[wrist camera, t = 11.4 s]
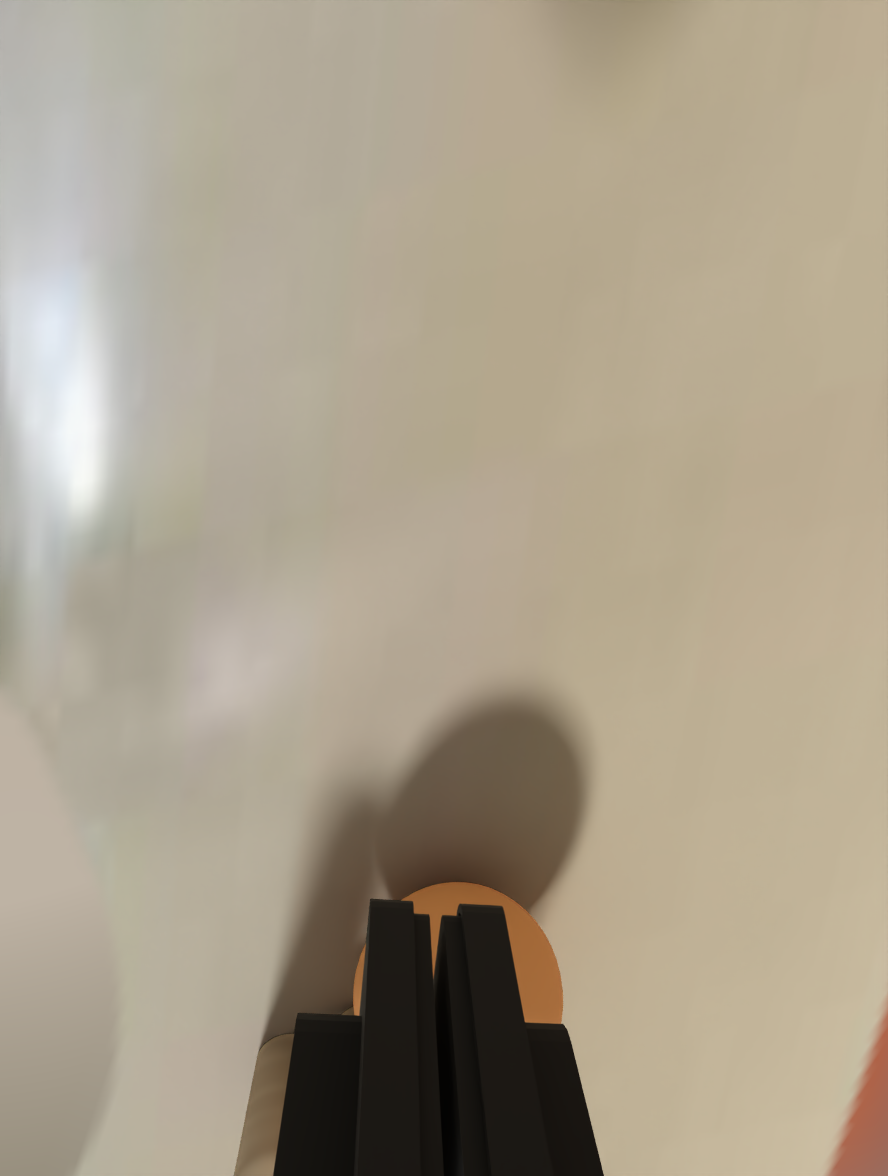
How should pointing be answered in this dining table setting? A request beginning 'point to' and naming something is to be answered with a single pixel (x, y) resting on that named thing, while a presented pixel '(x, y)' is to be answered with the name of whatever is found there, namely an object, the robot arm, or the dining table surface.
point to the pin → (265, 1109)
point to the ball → (526, 940)
